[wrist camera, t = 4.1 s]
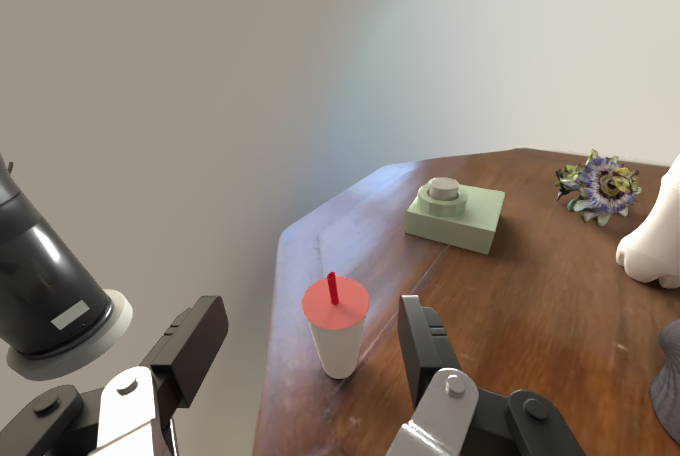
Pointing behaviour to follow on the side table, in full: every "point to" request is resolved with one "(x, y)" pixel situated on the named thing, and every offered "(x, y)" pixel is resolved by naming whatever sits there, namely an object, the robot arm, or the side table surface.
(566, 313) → the side table surface
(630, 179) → the passion flower
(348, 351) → the cup
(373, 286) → the side table surface
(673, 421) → the seashell
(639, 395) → the side table surface
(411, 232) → the green button box
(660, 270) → the water bottle
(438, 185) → the button
